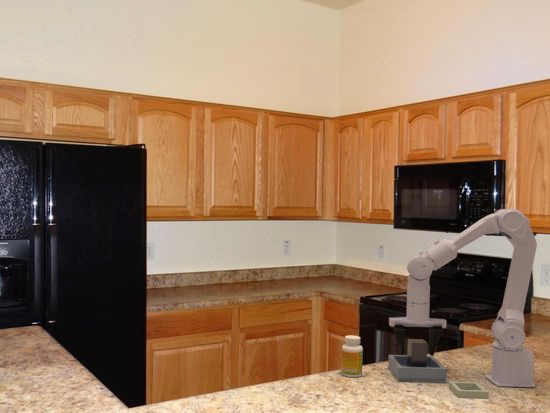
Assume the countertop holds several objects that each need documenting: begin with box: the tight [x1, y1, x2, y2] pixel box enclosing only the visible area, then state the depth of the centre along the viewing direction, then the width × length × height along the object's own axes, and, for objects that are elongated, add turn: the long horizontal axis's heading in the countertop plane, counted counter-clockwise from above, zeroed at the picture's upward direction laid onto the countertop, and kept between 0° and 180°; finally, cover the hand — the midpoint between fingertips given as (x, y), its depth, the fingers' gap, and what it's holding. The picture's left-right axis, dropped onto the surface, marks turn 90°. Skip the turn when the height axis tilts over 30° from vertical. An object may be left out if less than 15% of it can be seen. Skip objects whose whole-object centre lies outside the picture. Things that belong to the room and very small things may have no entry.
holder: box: [448, 380, 490, 399], centre depth 131 cm, size 7×7×2 cm
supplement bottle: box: [340, 334, 364, 378], centre depth 143 cm, size 5×5×10 cm
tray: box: [387, 354, 447, 384], centre depth 144 cm, size 12×12×4 cm
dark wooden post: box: [407, 338, 428, 367], centre depth 143 cm, size 4×4×8 cm
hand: (416, 354), depth 144 cm, fingers open, 7 cm apart
